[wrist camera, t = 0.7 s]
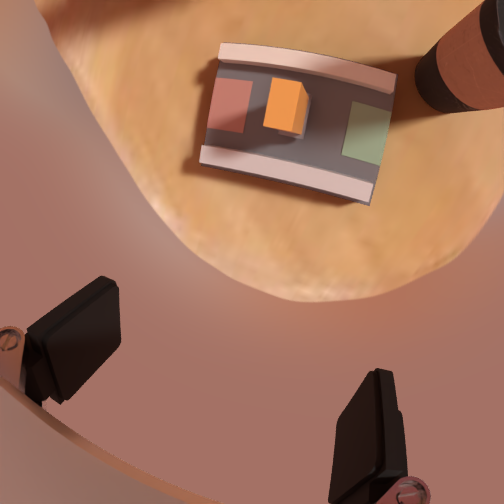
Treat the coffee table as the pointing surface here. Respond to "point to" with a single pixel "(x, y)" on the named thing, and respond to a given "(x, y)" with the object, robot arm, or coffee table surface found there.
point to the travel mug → (466, 63)
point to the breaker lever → (287, 108)
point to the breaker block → (318, 123)
